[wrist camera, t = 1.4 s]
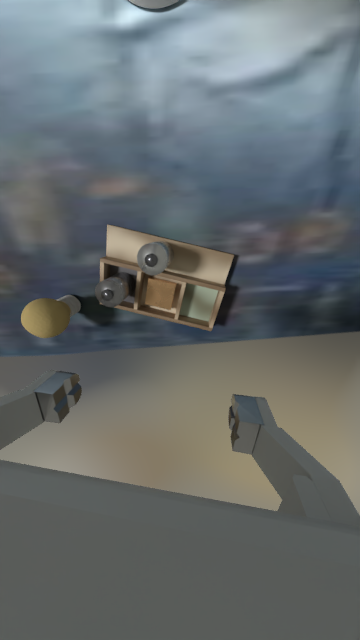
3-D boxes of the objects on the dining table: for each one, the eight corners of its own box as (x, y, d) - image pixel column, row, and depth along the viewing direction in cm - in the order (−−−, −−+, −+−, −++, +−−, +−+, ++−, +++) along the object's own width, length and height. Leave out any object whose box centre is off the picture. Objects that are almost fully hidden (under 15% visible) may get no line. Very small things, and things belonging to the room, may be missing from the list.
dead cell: (113, 269, 31) (92, 278, 25) (136, 275, 31) (121, 285, 25) (112, 291, 33) (92, 305, 27) (134, 297, 33) (119, 311, 27)
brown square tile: (149, 276, 31) (148, 278, 30) (176, 283, 31) (175, 284, 30) (146, 301, 33) (144, 303, 32) (171, 308, 33) (170, 310, 32)
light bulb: (65, 280, 34) (17, 297, 25) (94, 302, 36) (58, 326, 27) (53, 303, 37) (4, 326, 28) (80, 323, 38) (43, 351, 29)
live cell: (151, 238, 28) (137, 240, 22) (176, 244, 28) (168, 247, 22) (147, 264, 30) (134, 272, 24) (171, 269, 30) (163, 279, 24)
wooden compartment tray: (110, 224, 29) (99, 224, 26) (233, 254, 29) (236, 257, 26) (108, 299, 35) (99, 306, 32) (209, 324, 35) (210, 333, 32)
